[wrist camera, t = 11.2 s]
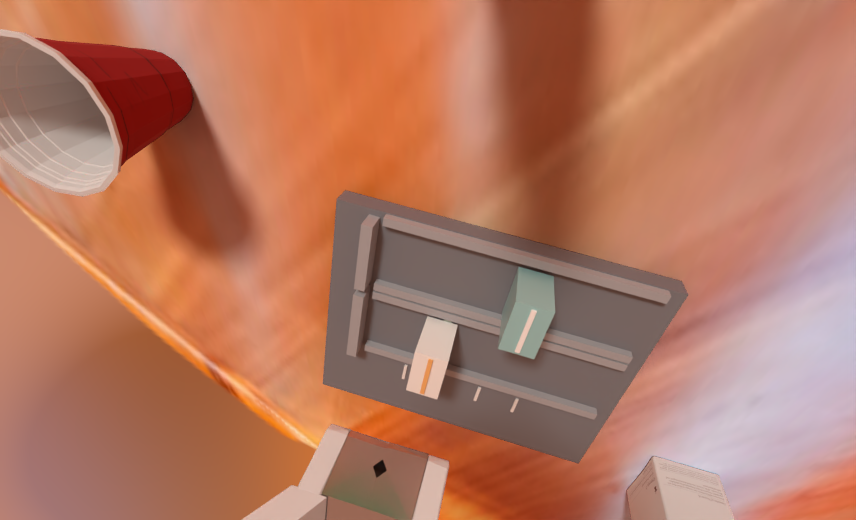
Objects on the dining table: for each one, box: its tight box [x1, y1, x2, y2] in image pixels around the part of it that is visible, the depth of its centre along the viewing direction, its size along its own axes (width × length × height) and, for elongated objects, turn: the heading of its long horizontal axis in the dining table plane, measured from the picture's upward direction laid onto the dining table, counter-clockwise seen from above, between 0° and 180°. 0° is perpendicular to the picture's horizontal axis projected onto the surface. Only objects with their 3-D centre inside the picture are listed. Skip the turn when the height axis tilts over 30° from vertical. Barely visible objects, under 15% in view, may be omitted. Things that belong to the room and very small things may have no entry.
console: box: [323, 190, 688, 463], centre depth 43 cm, size 30×24×4 cm
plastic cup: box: [0, 29, 193, 197], centre depth 33 cm, size 11×11×12 cm
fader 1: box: [406, 316, 458, 399], centre depth 41 cm, size 3×5×5 cm, turn 169°
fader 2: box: [498, 267, 555, 359], centre depth 36 cm, size 3×5×5 cm, turn 169°
